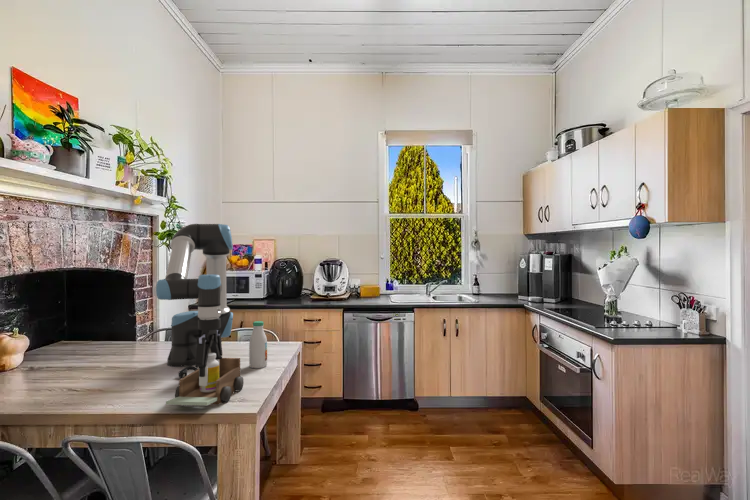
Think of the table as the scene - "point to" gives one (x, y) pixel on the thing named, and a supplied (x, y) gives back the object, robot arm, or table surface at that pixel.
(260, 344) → the milk bottle
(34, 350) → the table surface
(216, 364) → the supplement bottle
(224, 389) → the tray
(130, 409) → the table surface
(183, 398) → the panel
